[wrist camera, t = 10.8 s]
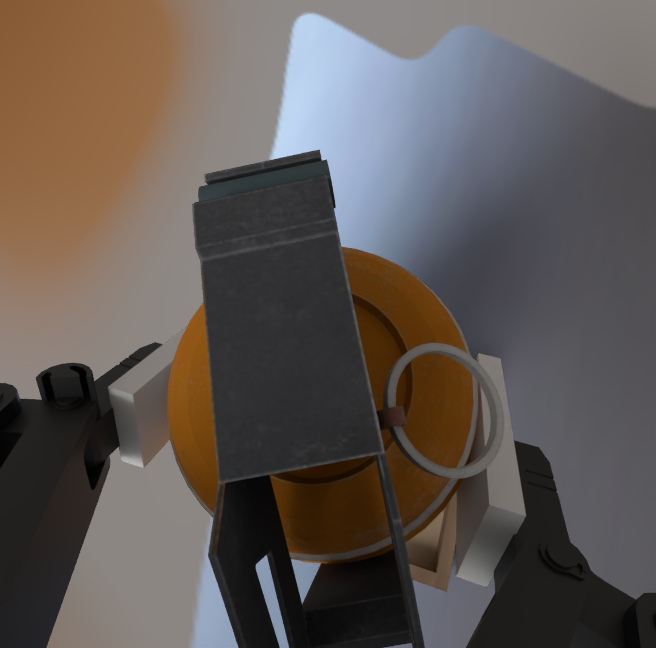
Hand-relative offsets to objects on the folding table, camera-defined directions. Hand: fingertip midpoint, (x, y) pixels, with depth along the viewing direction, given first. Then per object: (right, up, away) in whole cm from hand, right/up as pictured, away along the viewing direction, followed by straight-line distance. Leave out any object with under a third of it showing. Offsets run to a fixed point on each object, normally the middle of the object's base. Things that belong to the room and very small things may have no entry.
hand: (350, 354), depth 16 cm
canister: (+1, -6, +9) cm, 11 cm away
